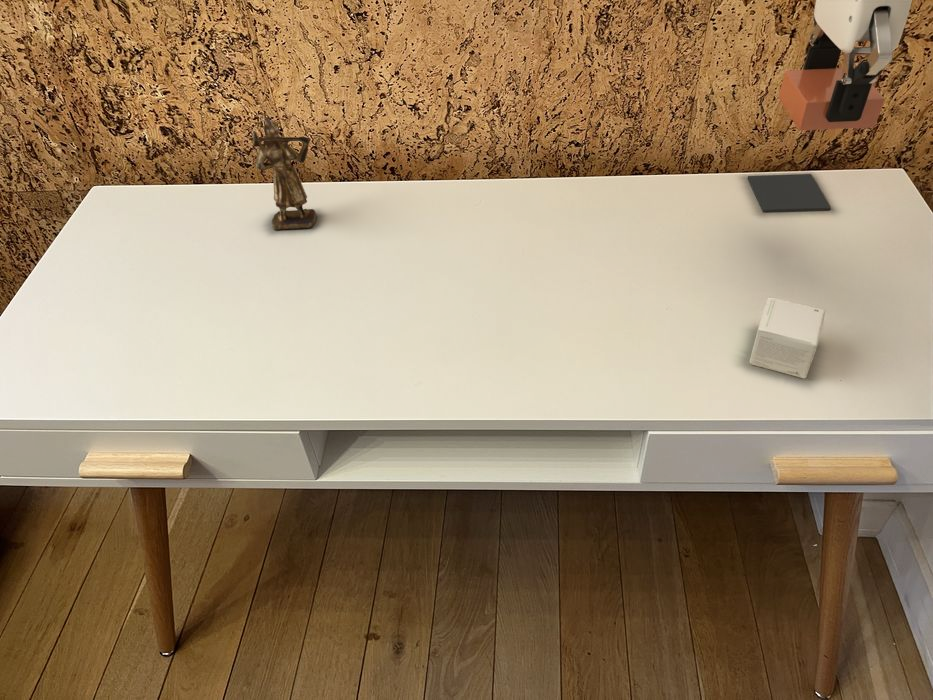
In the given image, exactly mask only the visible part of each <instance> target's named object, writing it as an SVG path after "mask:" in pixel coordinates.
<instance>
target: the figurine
mask: <svg viewBox="0 0 933 700" xmlns="http://www.w3.org/2000/svg"><path fill="white" fill-rule="evenodd" d="M264 121H265V122H264V125H263V134H264V137H259V136H258V133H257V131H255V130H252V137H248V141H252V145H251V147H253V148H257V147H258V149H257V155H256V158H255V167H256V169H257V170H259V171H265V170H270V169H272V176H273V177H272V178H273V200H274V203H275V207H276V208H278V209H279V210H278V211H277V212H276V213H275V214H274V215H273V217H272V220H271V226H272V228H273V230H274V231H279V230H280V231H281V230H291V229H308V228H311V227H313V226H314V225H315V223H316V222H317V219H318V216H317V215H318V214H317V212H316V209H313V208H309V209H308V208H303V205H305V204H307V203H308V200H307V199H308V195H307V193H306V191H305V188H304V186H303V183H302V181H301V177H300V175H299V173H298V171H297V169H296V168H295V167H294V166H293V165H292V161H294V162H297V163H300V164H304V163H305V161H306V158H307V156H308V153H309V145H310V142H311V137H307V136H292V137H291V136H280V132H279V131H280V129H279V125H277V123H275V122H274V121H272V120H271V119H270V118H269V117H267V116H266V117H264ZM262 142H263V143H262ZM290 142H301V143H302V144H301V148H300V150H299V153H298V152H296V151H295V150H294V149H293V148H292V147H291V145H289V143H290ZM267 160H268V161H269V162H266V161H267ZM288 208H295V210H287V209H288Z"/></svg>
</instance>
